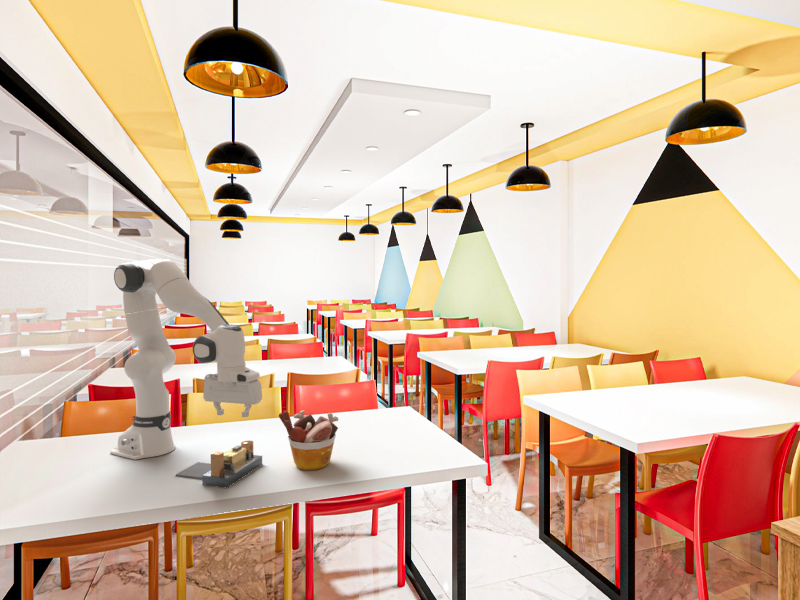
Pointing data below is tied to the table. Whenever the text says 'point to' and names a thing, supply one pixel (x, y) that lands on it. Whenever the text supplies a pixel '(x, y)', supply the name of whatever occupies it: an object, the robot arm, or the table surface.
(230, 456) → the tan rectangular block
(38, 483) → the table surface
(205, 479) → the hand plane
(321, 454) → the fried chicken
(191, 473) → the mat
